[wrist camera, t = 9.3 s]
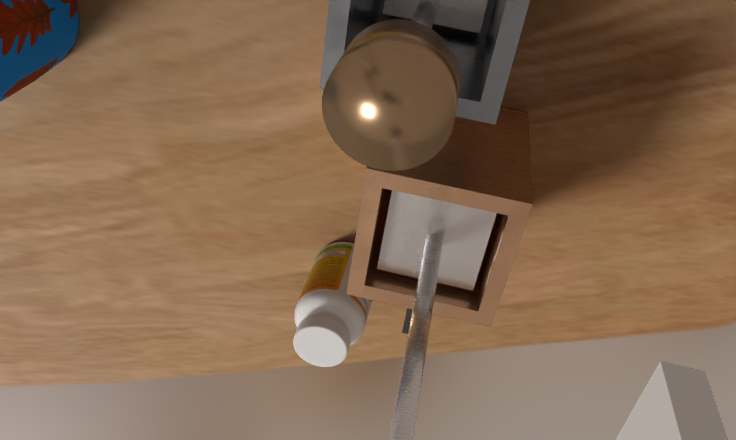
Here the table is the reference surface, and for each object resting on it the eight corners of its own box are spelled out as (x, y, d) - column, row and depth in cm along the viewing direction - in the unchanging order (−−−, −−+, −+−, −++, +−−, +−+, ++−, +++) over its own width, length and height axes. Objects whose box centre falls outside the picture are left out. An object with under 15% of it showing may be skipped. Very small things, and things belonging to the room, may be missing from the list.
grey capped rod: (394, 179, 38) (297, 504, 20) (498, 202, 37) (487, 553, 20) (379, 261, 41) (284, 598, 24) (473, 282, 41) (446, 642, 23)
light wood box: (398, 85, 45) (366, 168, 35) (527, 112, 44) (532, 204, 35) (373, 226, 52) (340, 329, 42) (485, 251, 51) (479, 361, 41)
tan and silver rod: (401, -96, 37) (306, 1, 20) (506, -76, 37) (501, 40, 19) (384, 9, 40) (292, 170, 23) (480, 29, 40) (458, 207, 23)
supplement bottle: (307, 274, 56) (272, 355, 48) (330, 229, 53) (298, 307, 45) (363, 300, 56) (339, 385, 48) (390, 257, 53) (369, 340, 45)
